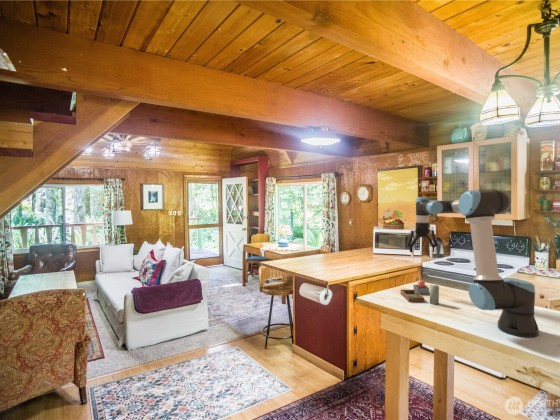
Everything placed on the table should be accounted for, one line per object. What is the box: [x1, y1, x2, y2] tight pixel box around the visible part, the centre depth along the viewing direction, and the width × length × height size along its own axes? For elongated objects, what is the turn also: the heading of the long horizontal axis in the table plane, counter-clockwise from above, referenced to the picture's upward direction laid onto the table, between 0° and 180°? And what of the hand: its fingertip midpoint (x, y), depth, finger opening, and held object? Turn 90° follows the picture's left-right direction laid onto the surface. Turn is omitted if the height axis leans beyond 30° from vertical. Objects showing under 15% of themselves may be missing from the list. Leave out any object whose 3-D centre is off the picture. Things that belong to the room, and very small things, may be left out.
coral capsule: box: [417, 279, 426, 288], centre depth 206 cm, size 4×4×6 cm
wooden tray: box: [400, 289, 425, 303], centre depth 197 cm, size 16×9×2 cm, turn 177°
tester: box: [413, 284, 430, 295], centre depth 206 cm, size 7×7×4 cm
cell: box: [429, 284, 440, 306], centre depth 186 cm, size 5×5×11 cm
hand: (421, 257), depth 205 cm, fingers open, 11 cm apart
